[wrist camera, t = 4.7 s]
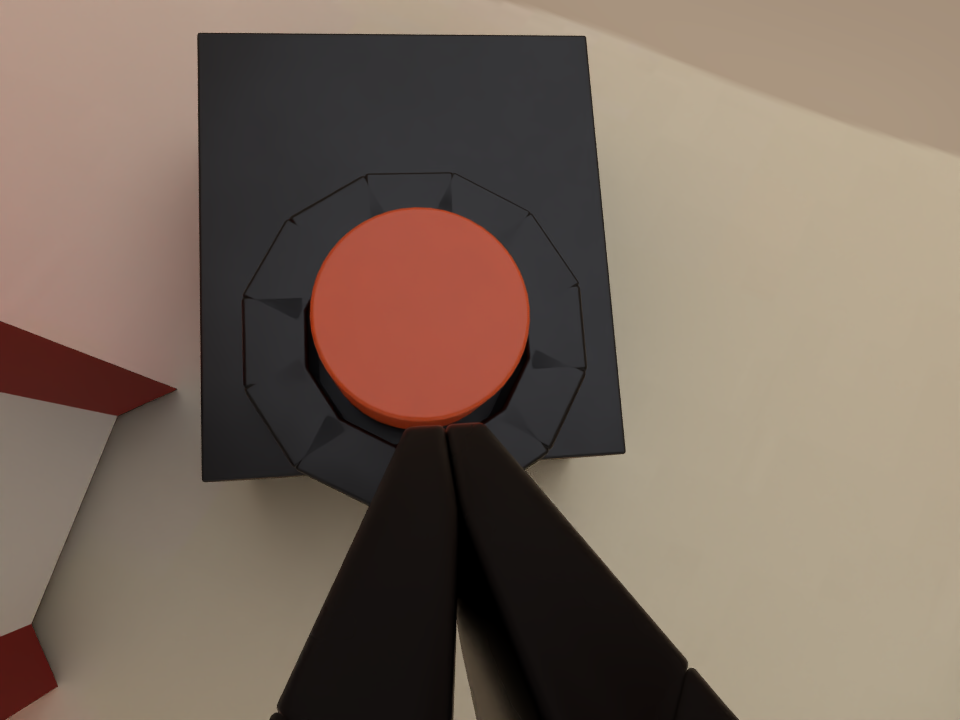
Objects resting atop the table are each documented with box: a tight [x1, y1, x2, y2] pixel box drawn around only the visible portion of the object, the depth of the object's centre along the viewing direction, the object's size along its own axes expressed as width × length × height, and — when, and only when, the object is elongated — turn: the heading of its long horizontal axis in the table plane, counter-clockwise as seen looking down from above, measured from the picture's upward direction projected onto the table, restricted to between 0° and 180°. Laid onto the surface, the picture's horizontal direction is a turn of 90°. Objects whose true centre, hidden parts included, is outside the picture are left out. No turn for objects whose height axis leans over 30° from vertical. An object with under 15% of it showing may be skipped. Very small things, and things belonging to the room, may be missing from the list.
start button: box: [310, 207, 530, 429], centre depth 13 cm, size 4×4×2 cm
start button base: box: [197, 33, 626, 506], centre depth 17 cm, size 11×9×7 cm
